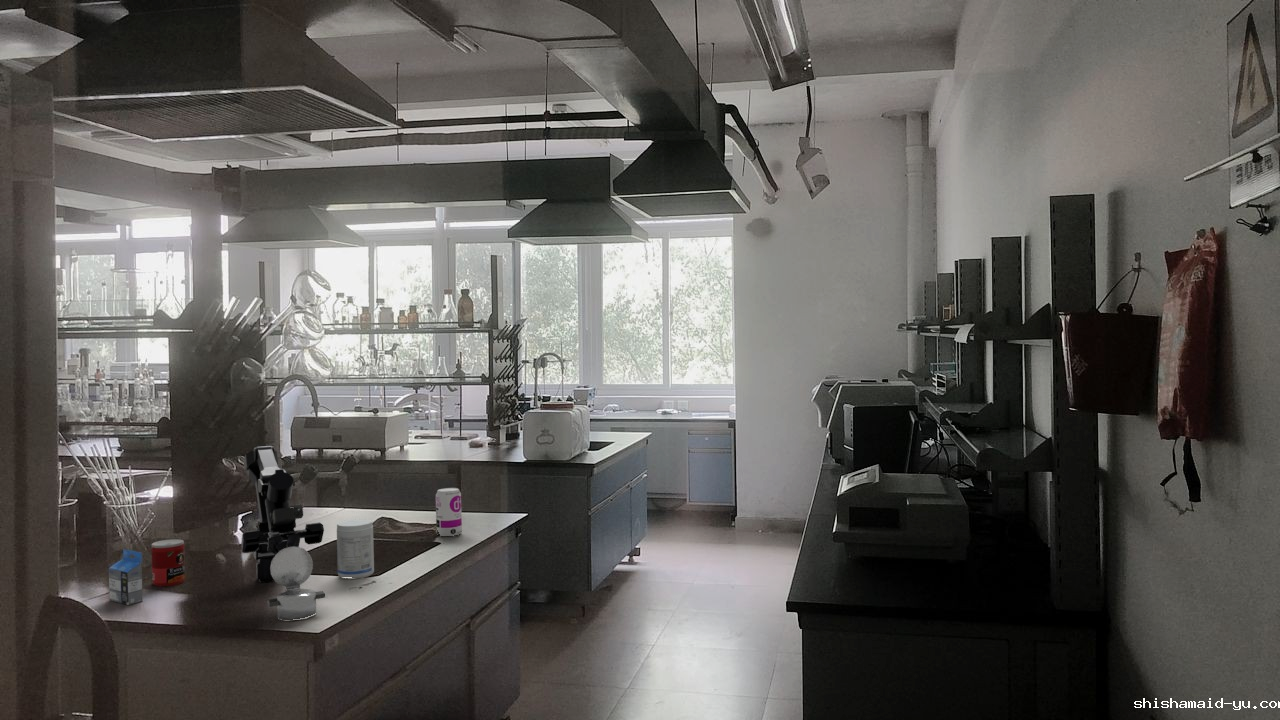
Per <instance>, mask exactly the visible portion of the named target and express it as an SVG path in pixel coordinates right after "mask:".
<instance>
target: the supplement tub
mask: <svg viewBox="0 0 1280 720" xmlns="http://www.w3.org/2000/svg"><path fill="white" fill-rule="evenodd" d="M374 549H375V548H374V525H373V520H371V519H369V518H368V519H367V518H354V519H346V520H342V521H341V520H340V521H339V522H337V523H336V551H337V552H336V553H337V555H336V556H337V575H338V577H339V578H340V577H352V578H359V579H363V578H367V577H370V576H372V575H373V573H374V572H375V559H374V558H375V553H374V552H375V551H374ZM343 580H349V579H348V578H346V579H345V578H344V579H343Z"/></svg>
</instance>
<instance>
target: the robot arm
mask: <svg viewBox="0 0 1280 720" xmlns="http://www.w3.org/2000/svg"><path fill="white" fill-rule="evenodd" d="M278 457H279V456H278V451H276V450H275V448H274V446H272V445H266V446H265V445H264V446H256V447H253V449H252V450H251V451H249V452H247V453H245V455H244V459H243V468H244V471H246V472H247V478H248V479H249V480H250V481H251V482H252V483H253V484H254V485H255V491H256V492H255V493H256V498H257V499H256V500H257V506H258V508H257V509H258V513H259V521H260V522H259V523H258V527H257V529H254V530H246V531H244V532H243V533H242V534H241V545H240V546H241V552H242V553H243V554H247V553H253V558H254V559H255V560H254V561H257V562H256V563H255V572H256V573H255V574H256V575H255V576H256V577H255V578H256V579H257V580H258V581H259V582H260V583H261V584H262V583H264V584H265V583H269V582H276V581H275V580H274V579H273V577H272V575H271V571H270V567H271V562H272V560H273V558H274V556H275V555H276V554H277V553H278V552H279V551H281V550H282V549H284V548H287V547H300V541H301V539H304V540H303V541H304V543H305V544H306V545H313V544H315V545H316V544H320V543H322V541H323V537H324V532H325V529H324V528H325V527H324V525H323V524H322V523H321V522H313V523H312V522H311V523H306V524H305V528H304V529H296V527H297V523H296V520H298V519H302V518H303V516H304V509H303V504H295V505H293V506H292V507H291V503H290V500H291V499H292V494H293V493H292V492H293V488H294V487H295V486H296V484H295V483H296V482H295V479H294V477H293V476H292V475H291V474H290V473H288V472H287V471H286V470H285V469H284V468H280V467H279V458H278ZM295 529H296V530H295Z"/></svg>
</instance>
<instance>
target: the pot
mask: <svg viewBox="0 0 1280 720" xmlns="http://www.w3.org/2000/svg"><path fill="white" fill-rule="evenodd" d="M284 591H285V592H281V593H279V594H278V595H277V596H276V598H270V599H267V605H268V607H270V608H272V607H276V606H277V607H276V608H277V609H276V611H277V619H278V618H279V619H282V620H293V619H300V618H305V617H308V616H311V615H313V614H315V613H316V614H317V600H321V599H325V598H326V593H325V591H324V590H320V591H319V590H318V591H316V590H314V589H310V588H309V589H308V588H307V589H306V588H305V589H301V587H300V588H295V589H288V590H286V589H285V590H284Z"/></svg>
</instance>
